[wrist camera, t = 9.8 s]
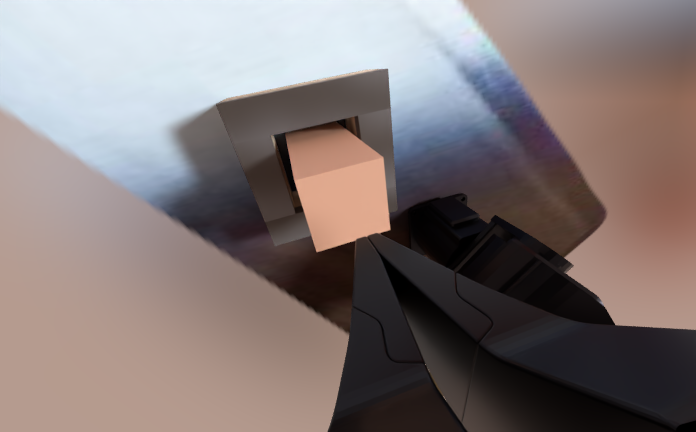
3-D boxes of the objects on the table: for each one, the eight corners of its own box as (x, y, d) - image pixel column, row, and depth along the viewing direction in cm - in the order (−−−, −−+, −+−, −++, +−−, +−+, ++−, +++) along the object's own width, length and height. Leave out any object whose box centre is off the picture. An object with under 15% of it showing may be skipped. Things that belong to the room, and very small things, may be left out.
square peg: (344, 168, 21) (390, 230, 13) (299, 180, 21) (316, 252, 12) (335, 121, 19) (383, 157, 11) (284, 132, 19) (294, 180, 10)
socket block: (379, 190, 23) (397, 210, 20) (274, 219, 22) (275, 246, 19) (366, 69, 18) (387, 68, 15) (227, 98, 17) (215, 104, 13)
